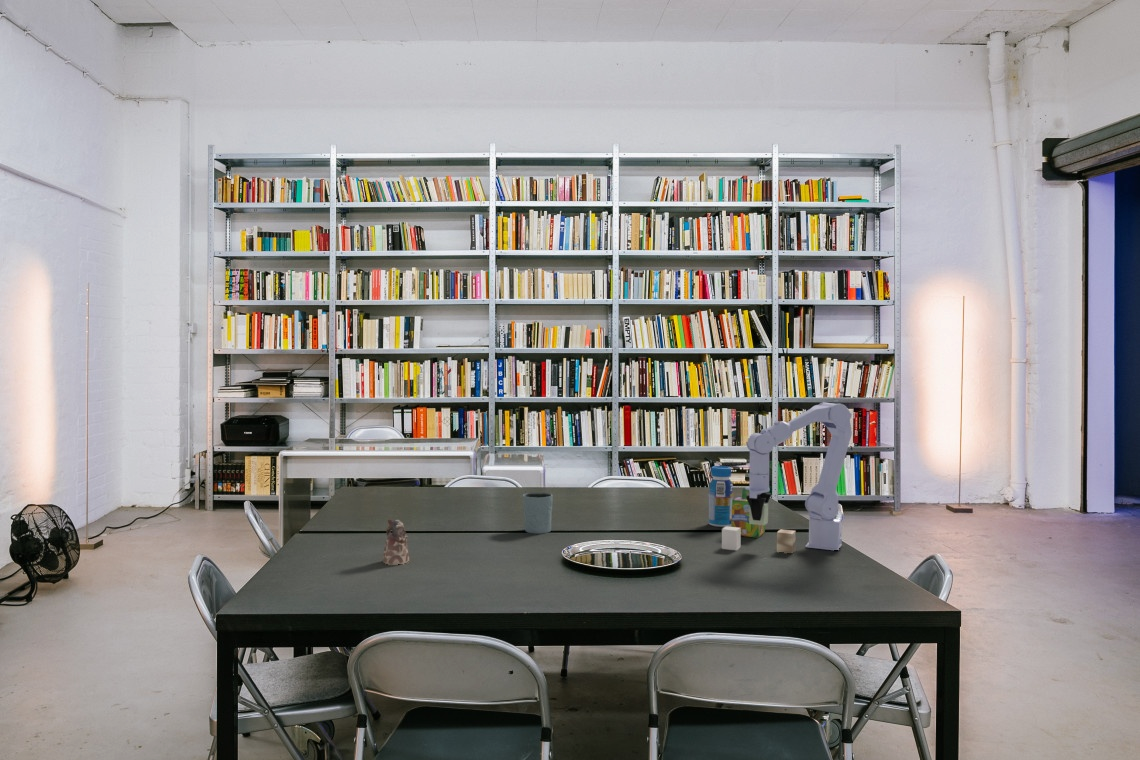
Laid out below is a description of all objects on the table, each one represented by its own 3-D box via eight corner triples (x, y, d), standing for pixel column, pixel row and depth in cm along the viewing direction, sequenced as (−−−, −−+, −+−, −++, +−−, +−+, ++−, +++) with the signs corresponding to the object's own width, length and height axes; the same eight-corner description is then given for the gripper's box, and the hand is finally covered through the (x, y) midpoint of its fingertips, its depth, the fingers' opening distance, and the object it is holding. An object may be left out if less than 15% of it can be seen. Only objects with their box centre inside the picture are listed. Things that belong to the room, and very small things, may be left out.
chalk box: (730, 535, 248) (731, 490, 248) (738, 529, 257) (738, 485, 256) (759, 538, 244) (759, 492, 244) (765, 532, 252) (766, 488, 252)
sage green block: (767, 522, 231) (768, 502, 230) (764, 525, 227) (764, 505, 226) (753, 521, 233) (753, 501, 232) (749, 523, 229) (749, 503, 228)
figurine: (396, 566, 209) (396, 523, 209) (377, 563, 213) (377, 520, 213) (414, 561, 215) (414, 518, 215) (395, 557, 219) (395, 515, 219)
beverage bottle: (703, 524, 265) (703, 466, 264) (719, 521, 270) (720, 464, 269) (721, 528, 258) (722, 469, 257) (738, 525, 263) (738, 467, 262)
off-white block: (740, 547, 233) (740, 527, 233) (736, 550, 229) (736, 530, 229) (726, 545, 235) (726, 526, 235) (721, 548, 231) (721, 529, 231)
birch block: (795, 550, 229) (795, 530, 229) (792, 554, 225) (792, 533, 225) (780, 549, 231) (780, 529, 231) (776, 552, 227) (777, 532, 227)
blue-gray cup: (540, 535, 247) (541, 498, 247) (516, 531, 253) (516, 495, 252) (558, 529, 255) (558, 493, 255) (534, 525, 261) (534, 490, 261)
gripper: (752, 469, 237) (751, 512, 238) (739, 475, 225) (739, 521, 225) (775, 471, 234) (774, 515, 235) (763, 477, 221) (763, 524, 222)
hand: (758, 518), depth 230 cm, fingers closed on sage green block, 4 cm apart
